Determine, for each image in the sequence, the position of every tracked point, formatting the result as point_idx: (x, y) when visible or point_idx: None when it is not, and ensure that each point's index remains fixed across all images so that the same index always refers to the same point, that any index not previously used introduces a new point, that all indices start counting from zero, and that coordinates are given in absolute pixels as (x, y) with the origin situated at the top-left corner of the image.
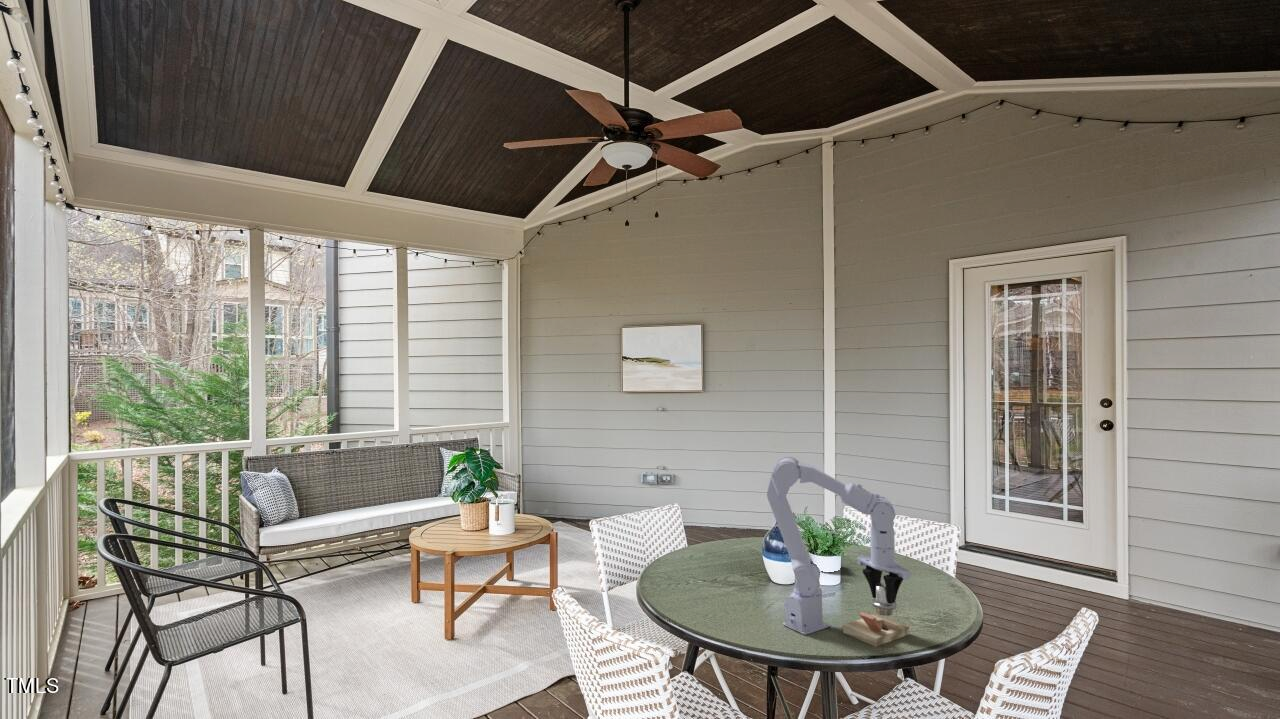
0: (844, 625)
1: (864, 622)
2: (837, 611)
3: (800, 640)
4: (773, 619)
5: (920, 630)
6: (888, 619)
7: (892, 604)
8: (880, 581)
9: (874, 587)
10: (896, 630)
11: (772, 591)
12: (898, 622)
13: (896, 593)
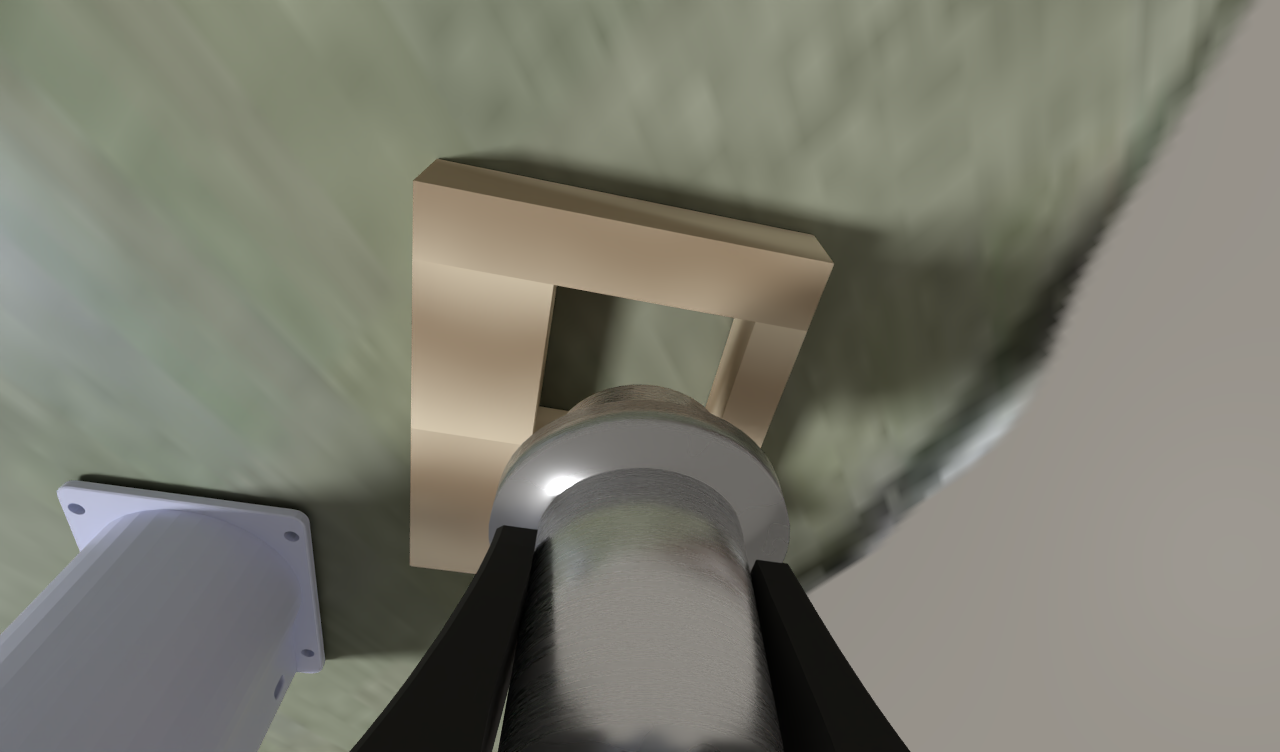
0: (425, 567)
1: (484, 443)
2: (19, 191)
3: (360, 699)
4: (14, 615)
5: (881, 49)
6: (597, 238)
7: (748, 542)
8: (486, 727)
9: (493, 744)
10: (764, 416)
11: None
12: (710, 240)
13: (843, 674)
